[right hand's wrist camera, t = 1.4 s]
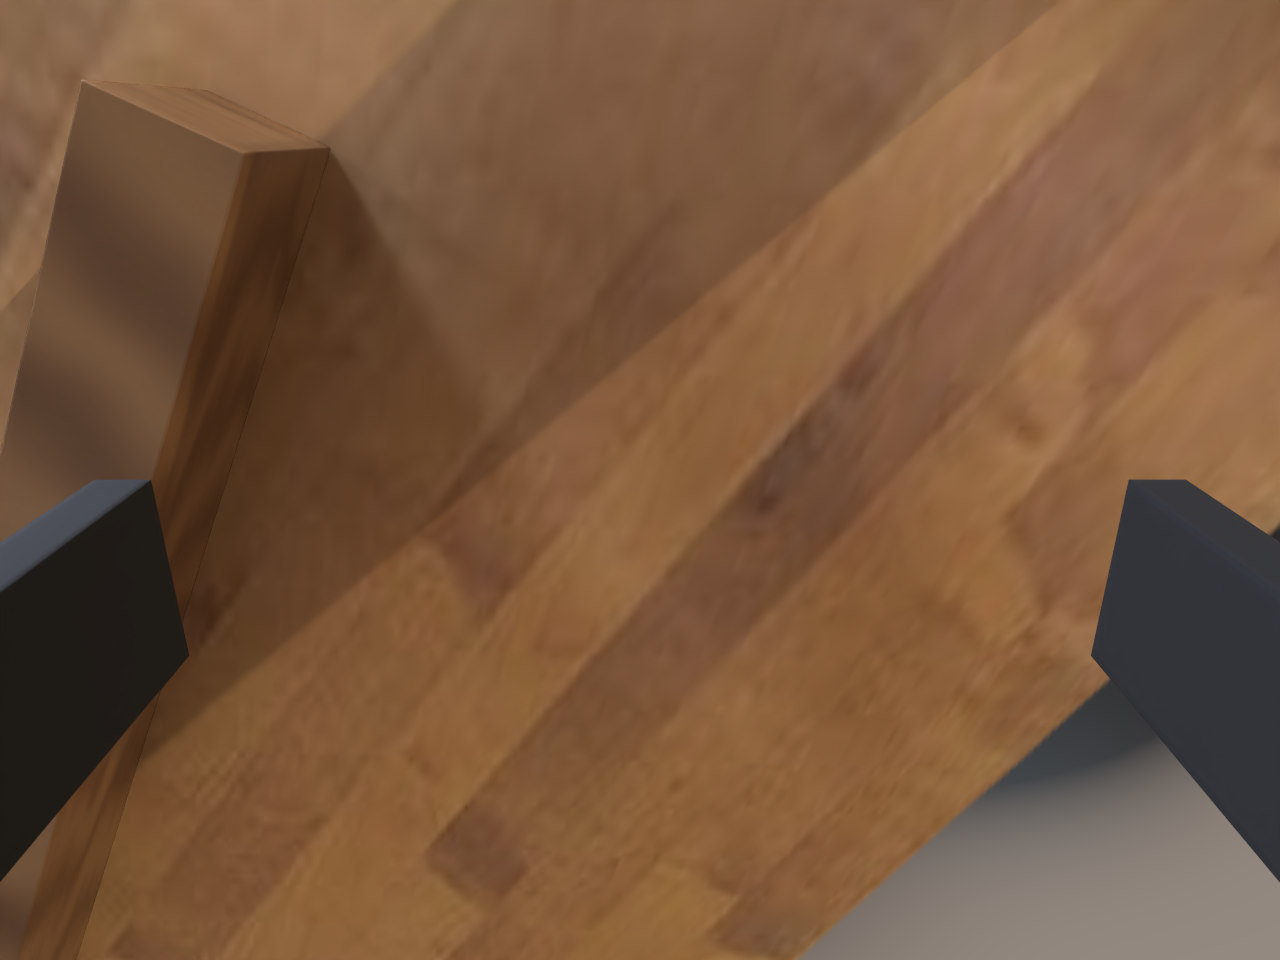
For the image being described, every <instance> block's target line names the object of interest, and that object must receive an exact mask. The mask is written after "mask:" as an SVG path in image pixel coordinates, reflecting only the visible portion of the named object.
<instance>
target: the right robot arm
mask: <svg viewBox="0 0 1280 960" xmlns="http://www.w3.org/2000/svg"><path fill="white" fill-rule="evenodd" d="M188 656H189V653H188V649H187V644H186V639H185V635H184V630H183V625H182V621H181V616H180V612H179V607H178V602H177V598H176V593H175V588H174V584H173V579H172V574H171V570H170V565H169V560H168V556H167V551H166V547H165V542H164V537H163V533H162V528H161V523H160V519H159V514H158V509H157V505H156V500H155V495H154V491H153V486H152V482H151V480H93V481H91V482H90V483H88V484H87V485H85V486H84V487H83V488H81V489H80V490H78V491H77V492H75V493H74V494H72V495H71V496H69V497H68V498H66V499H65V500H63V501H62V502H60V503H59V504H57V505H56V506H54V507H53V508H51V509H50V510H48V511H47V512H45V513H44V514H42V515H41V516H39V517H38V518H36V519H35V520H33V521H32V522H30V523H29V524H27V525H26V526H24V527H23V528H21V529H20V530H18V531H17V532H15V533H14V534H12V535H11V536H9V537H8V538H6V539H5V540H3V541H2V542H0V882H1V881H2V880H3V878H4V877H5V876H6V875H7V874H8V872H9V871H10V870H11V869H12V868H13V866H14V865H15V864H16V863H17V862H18V860H19V859H20V858H21V857H22V855H23V854H24V853H25V852H26V851H27V849H28V848H29V847H30V846H31V845H32V843H33V842H34V841H35V840H36V839H37V837H38V836H39V835H40V834H41V833H42V831H43V830H44V829H45V828H46V827H47V825H48V824H49V823H50V822H51V821H52V819H53V818H54V817H55V816H56V815H57V813H58V812H59V811H60V810H61V809H62V807H63V806H64V805H65V804H66V803H67V801H68V800H69V799H70V798H71V797H72V795H73V794H74V793H75V792H76V791H77V789H78V788H79V787H80V786H81V785H82V783H83V782H84V781H85V780H86V779H87V777H88V776H89V775H90V774H91V773H92V771H93V770H94V769H95V768H96V767H97V765H98V764H99V763H100V762H101V761H102V759H103V758H104V757H105V756H106V755H107V753H108V752H109V751H110V750H111V749H112V747H113V746H114V745H115V744H116V743H117V741H118V740H119V739H120V738H121V737H122V735H123V734H124V733H125V732H126V731H127V729H128V728H129V727H130V726H131V725H132V723H133V722H134V721H135V720H136V719H137V717H138V716H139V715H140V714H141V713H142V711H143V710H144V709H145V708H146V707H147V705H148V704H149V703H150V702H151V701H152V699H153V698H154V697H155V696H156V695H157V693H158V692H159V691H160V690H161V689H162V687H163V686H164V685H165V684H166V683H167V681H168V680H169V679H170V678H171V677H172V675H173V674H174V673H175V672H176V671H177V669H178V668H179V667H180V666H181V665H182V663H183V662H184V661H185V660H186V659H187V657H188ZM1091 656H1092V657H1093V659H1094V660H1095V661H1096V662H1097V663H1098V665H1099V666H1100V667H1101V668H1102V669H1103V671H1104V672H1105V673H1106V674H1107V675H1108V677H1109V678H1110V679H1111V680H1112V681H1113V683H1114V684H1115V685H1116V686H1117V687H1118V689H1119V690H1120V691H1121V692H1122V693H1123V695H1124V696H1125V697H1126V698H1127V699H1128V701H1129V702H1130V703H1131V704H1132V705H1133V707H1134V708H1135V709H1136V710H1137V711H1138V713H1139V714H1140V715H1141V716H1142V717H1143V719H1144V720H1145V721H1146V722H1147V723H1148V725H1149V726H1150V727H1151V728H1152V729H1153V731H1154V732H1155V733H1156V734H1157V735H1158V737H1159V738H1160V739H1161V740H1162V741H1163V743H1164V744H1165V745H1166V746H1167V747H1168V749H1169V750H1170V751H1171V752H1172V753H1173V755H1174V756H1175V757H1176V758H1177V759H1178V761H1179V762H1180V763H1181V764H1182V765H1183V767H1184V768H1185V769H1186V770H1187V771H1188V773H1189V774H1190V775H1191V776H1192V777H1193V779H1194V780H1195V781H1196V782H1197V783H1198V785H1199V786H1200V787H1201V788H1202V789H1203V791H1204V792H1205V793H1206V794H1207V795H1208V797H1209V798H1210V799H1211V800H1212V801H1213V803H1214V804H1215V805H1216V806H1217V807H1218V809H1219V810H1220V811H1221V812H1222V813H1223V815H1224V816H1225V817H1226V818H1227V819H1228V821H1229V822H1230V823H1231V824H1232V825H1233V827H1234V828H1235V829H1236V830H1237V831H1238V833H1239V834H1240V835H1241V836H1242V837H1243V839H1244V840H1245V841H1246V842H1247V843H1248V845H1249V846H1250V847H1251V848H1252V849H1253V851H1254V852H1255V853H1256V854H1257V855H1258V857H1259V858H1260V859H1261V860H1262V861H1263V863H1264V864H1265V865H1266V866H1267V868H1268V869H1269V870H1270V871H1271V872H1272V874H1273V875H1274V876H1275V877H1276V878H1277V880H1278V881H1279V882H1280V542H1278V541H1277V540H1275V539H1274V538H1272V537H1271V536H1269V535H1268V534H1266V533H1265V532H1263V531H1262V530H1260V529H1259V528H1257V527H1256V526H1254V525H1253V524H1251V523H1250V522H1248V521H1247V520H1245V519H1244V518H1242V517H1241V516H1239V515H1238V514H1236V513H1235V512H1233V511H1232V510H1230V509H1229V508H1227V507H1226V506H1224V505H1223V504H1221V503H1220V502H1218V501H1217V500H1215V499H1214V498H1212V497H1211V496H1209V495H1208V494H1206V493H1205V492H1203V491H1202V490H1200V489H1199V488H1197V487H1196V486H1195V485H1193V484H1192V483H1190V482H1189V481H1187V480H1129V482H1128V486H1127V491H1126V495H1125V500H1124V505H1123V509H1122V514H1121V519H1120V523H1119V528H1118V533H1117V537H1116V542H1115V546H1114V551H1113V556H1112V560H1111V565H1110V570H1109V574H1108V579H1107V584H1106V588H1105V593H1104V598H1103V602H1102V607H1101V611H1100V616H1099V621H1098V625H1097V630H1096V635H1095V639H1094V644H1093V649H1092V653H1091Z"/></svg>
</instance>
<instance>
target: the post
mask: <svg viewBox="0 0 1280 960" xmlns="http://www.w3.org/2000/svg"><path fill="white" fill-rule="evenodd" d="M329 152H330V147H328V146H326V145H324V144H322V143H320V142H317V141H315V140H313V139H311V138H309V137H307V136H304V135H302V134H300V133H298V132H296V131H294V130H291V129H289V128H287V127H285V126H283V125H280V124H278V123H276V122H274V121H272V120H270V119H267V118H265V117H263V116H261V115H259V114H257V113H254V112H252V111H250V110H248V109H246V108H244V107H241V106H239V105H237V104H235V103H233V102H230V101H228V100H226V99H224V98H222V97H220V96H217V95H215V94H213V93H211V92H209V91H207V90H196V89H185V88H173V87H162V86H151V85H139V84H128V83H116V82H105V81H93V80H82V81H81V83H80V88H79V93H78V97H77V102H76V107H75V111H74V116H73V121H72V125H71V130H70V135H69V139H68V144H67V148H66V153H65V158H64V162H63V167H62V172H61V176H60V181H59V186H58V190H57V195H56V199H55V204H54V209H53V213H52V218H51V223H50V227H49V232H48V237H47V241H46V246H45V251H44V255H43V260H42V264H41V269H40V274H39V278H38V283H37V288H36V292H35V297H34V302H33V306H32V311H31V315H30V320H29V325H28V329H27V334H26V339H25V343H24V348H23V353H22V357H21V362H20V367H19V371H18V376H17V380H16V385H15V390H14V394H13V399H12V404H11V408H10V413H9V418H8V422H7V427H6V431H5V436H4V441H3V445H2V450H1V455H0V542H2V541H3V540H5V539H6V538H8V537H9V536H11V535H12V534H14V533H15V532H17V531H18V530H20V529H21V528H23V527H24V526H26V525H27V524H29V523H30V522H32V521H33V520H35V519H36V518H38V517H39V516H41V515H42V514H44V513H45V512H47V511H48V510H50V509H51V508H53V507H54V506H56V505H57V504H59V503H60V502H62V501H63V500H65V499H66V498H68V497H69V496H71V495H72V494H74V493H75V492H77V491H78V490H80V489H81V488H83V487H84V486H85V485H87V484H88V483H90V482H91V481H93V480H151V482H152V486H153V491H154V495H155V500H156V505H157V509H158V514H159V519H160V523H161V528H162V533H163V537H164V542H165V547H166V551H167V556H168V560H169V565H170V570H171V574H172V579H173V584H174V588H175V593H176V598H177V602H178V607H179V612H180V616H181V621H183V617H184V614H185V611H186V608H187V605H188V601H189V598H190V595H191V592H192V589H193V585H194V582H195V579H196V576H197V573H198V570H199V566H200V563H201V560H202V557H203V554H204V550H205V547H206V544H207V541H208V538H209V534H210V531H211V528H212V525H213V522H214V519H215V515H216V512H217V509H218V506H219V503H220V499H221V496H222V493H223V490H224V487H225V483H226V480H227V477H228V474H229V471H230V468H231V464H232V461H233V458H234V455H235V452H236V448H237V445H238V442H239V439H240V436H241V432H242V429H243V426H244V423H245V420H246V417H247V413H248V410H249V407H250V404H251V401H252V397H253V394H254V391H255V388H256V385H257V381H258V378H259V375H260V372H261V369H262V365H263V362H264V359H265V356H266V353H267V350H268V346H269V343H270V340H271V337H272V334H273V330H274V327H275V324H276V321H277V318H278V314H279V311H280V308H281V305H282V302H283V299H284V295H285V292H286V289H287V286H288V283H289V279H290V276H291V273H292V270H293V267H294V263H295V260H296V257H297V254H298V251H299V248H300V244H301V241H302V238H303V235H304V232H305V228H306V225H307V222H308V219H309V216H310V212H311V209H312V206H313V203H314V200H315V197H316V193H317V190H318V187H319V184H320V181H321V177H322V174H323V171H324V168H325V165H326V161H327V158H328V155H329ZM160 691H161V690H160ZM160 691H159V692H158V693H157V695H156V696H155V697H154V698H153V699H152V701H151V702H150V703H149V704H148V705H147V707H146V708H145V709H144V710H143V711H142V713H141V714H140V715H139V716H138V717H137V719H136V720H135V721H134V722H133V723H132V725H131V726H130V727H129V728H128V729H127V731H126V732H125V733H124V734H123V735H122V737H121V738H120V739H119V740H118V741H117V743H116V744H115V745H114V746H113V747H112V749H111V750H110V751H109V752H108V753H107V755H106V756H105V757H104V758H103V759H102V761H101V762H100V763H99V764H98V765H97V767H96V768H95V769H94V770H93V771H92V773H91V774H90V775H89V776H88V777H87V779H86V780H85V781H84V782H83V783H82V785H81V786H80V787H79V788H78V789H77V791H76V792H75V793H74V794H73V795H72V797H71V798H70V799H69V800H68V801H67V803H66V804H65V805H64V806H63V807H62V809H61V810H60V811H59V812H58V813H57V815H56V816H55V817H54V818H53V819H52V821H51V822H50V823H49V824H48V825H47V827H46V828H45V829H44V830H43V831H42V833H41V834H40V835H39V836H38V837H37V839H36V840H35V841H34V842H33V843H32V845H31V846H30V847H29V848H28V849H27V851H26V852H25V853H24V854H23V855H22V857H21V858H20V859H19V860H18V862H17V863H16V864H15V865H14V866H13V868H12V869H11V870H10V871H9V872H8V874H7V875H6V876H5V877H4V878H3V880H2V881H1V882H0V960H76V958H77V955H78V952H79V949H80V946H81V942H82V939H83V936H84V933H85V930H86V927H87V923H88V920H89V917H90V914H91V911H92V907H93V904H94V901H95V898H96V895H97V891H98V888H99V885H100V882H101V879H102V876H103V872H104V869H105V866H106V863H107V860H108V856H109V853H110V850H111V847H112V844H113V840H114V837H115V834H116V831H117V828H118V825H119V821H120V818H121V815H122V812H123V809H124V805H125V802H126V799H127V796H128V793H129V789H130V786H131V783H132V780H133V777H134V774H135V770H136V767H137V764H138V761H139V758H140V754H141V751H142V748H143V745H144V742H145V738H146V735H147V732H148V729H149V726H150V723H151V719H152V716H153V713H154V710H155V707H156V703H157V700H158V697H159V694H160Z"/></svg>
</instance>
